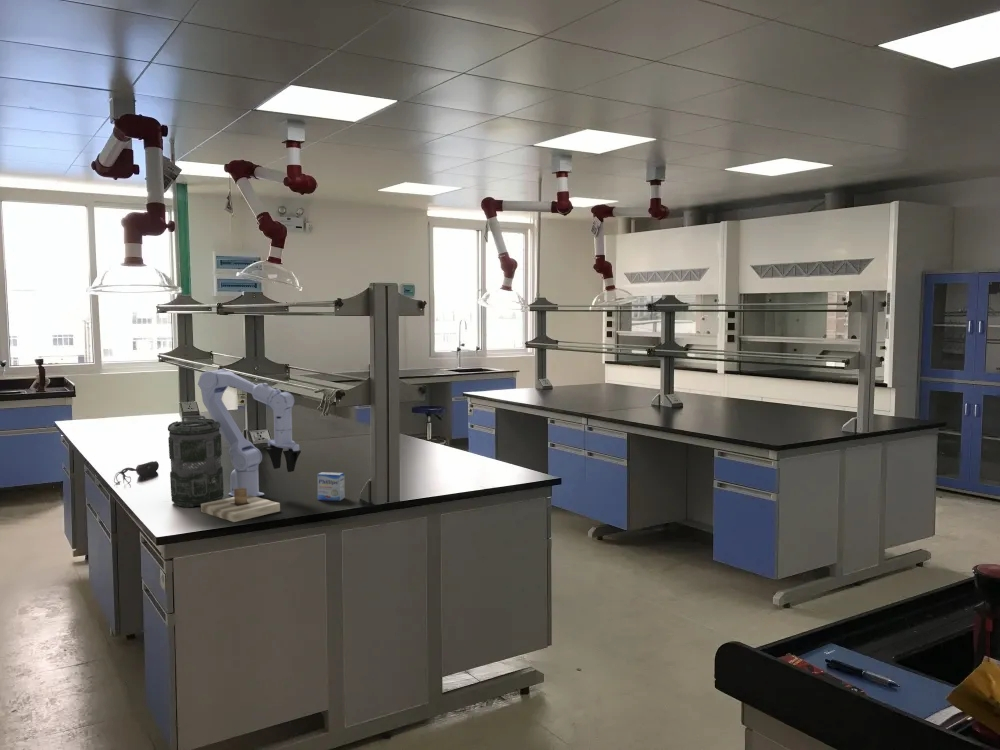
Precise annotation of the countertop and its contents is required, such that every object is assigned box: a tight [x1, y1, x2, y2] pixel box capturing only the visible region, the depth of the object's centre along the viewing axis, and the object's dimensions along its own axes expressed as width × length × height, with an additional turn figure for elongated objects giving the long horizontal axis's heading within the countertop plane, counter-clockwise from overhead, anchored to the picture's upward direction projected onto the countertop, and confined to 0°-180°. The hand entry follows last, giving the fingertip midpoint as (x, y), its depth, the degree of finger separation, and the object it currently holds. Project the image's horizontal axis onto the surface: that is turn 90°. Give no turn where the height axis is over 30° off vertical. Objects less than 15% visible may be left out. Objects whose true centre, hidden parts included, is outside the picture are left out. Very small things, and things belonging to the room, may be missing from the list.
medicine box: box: [317, 471, 346, 502], centre depth 256 cm, size 8×4×9 cm, turn 81°
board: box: [200, 495, 281, 523], centre depth 240 cm, size 18×16×2 cm
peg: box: [233, 488, 247, 506], centre depth 240 cm, size 4×4×7 cm
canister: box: [167, 415, 224, 508], centre depth 250 cm, size 16×16×28 cm
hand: (283, 469), depth 257 cm, fingers open, 7 cm apart
